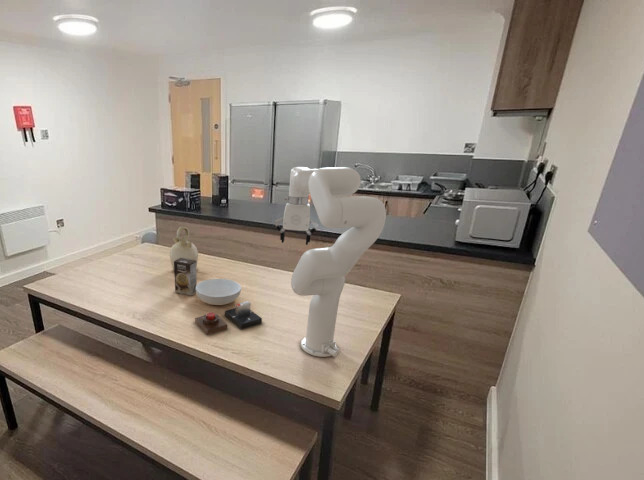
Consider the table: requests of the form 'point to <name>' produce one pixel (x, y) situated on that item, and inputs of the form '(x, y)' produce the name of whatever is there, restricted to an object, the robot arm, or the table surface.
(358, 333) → the table surface
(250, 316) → the tap console
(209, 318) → the button
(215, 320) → the control block
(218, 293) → the serving bowl
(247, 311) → the rotary selector knob
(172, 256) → the jug
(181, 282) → the coffee box
